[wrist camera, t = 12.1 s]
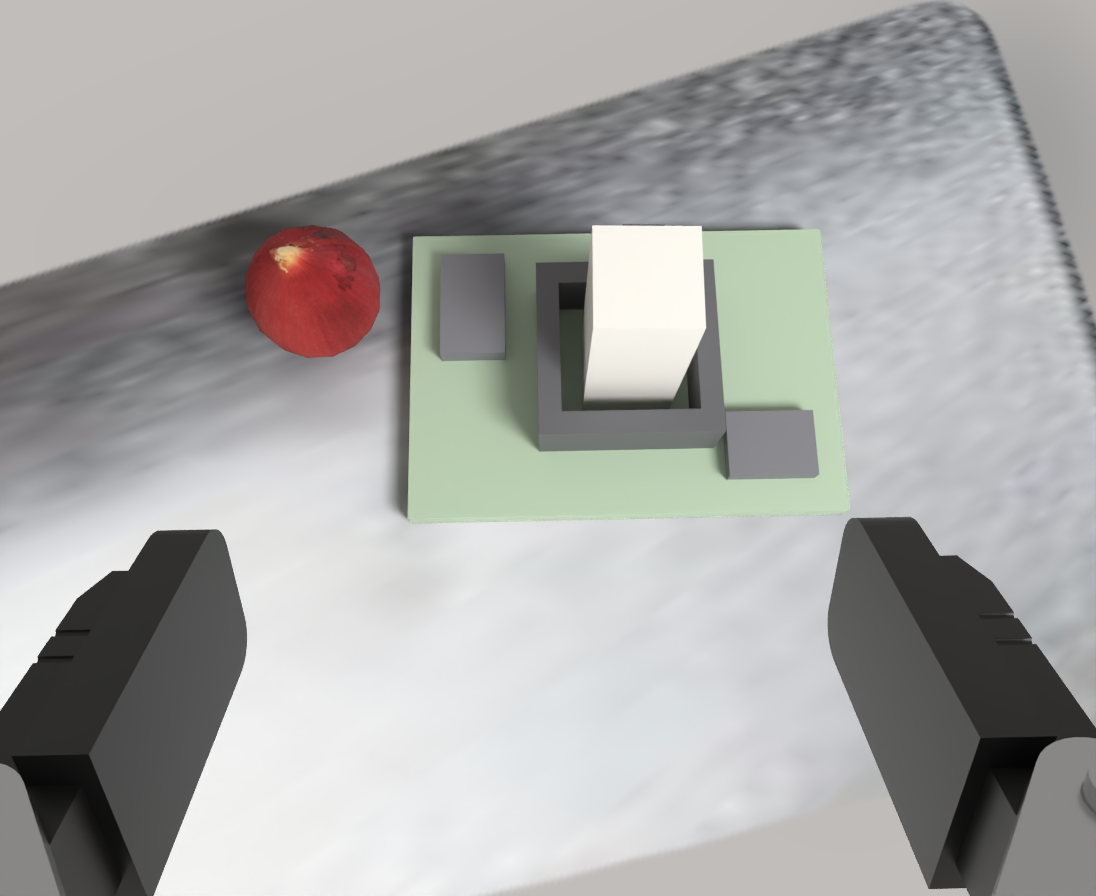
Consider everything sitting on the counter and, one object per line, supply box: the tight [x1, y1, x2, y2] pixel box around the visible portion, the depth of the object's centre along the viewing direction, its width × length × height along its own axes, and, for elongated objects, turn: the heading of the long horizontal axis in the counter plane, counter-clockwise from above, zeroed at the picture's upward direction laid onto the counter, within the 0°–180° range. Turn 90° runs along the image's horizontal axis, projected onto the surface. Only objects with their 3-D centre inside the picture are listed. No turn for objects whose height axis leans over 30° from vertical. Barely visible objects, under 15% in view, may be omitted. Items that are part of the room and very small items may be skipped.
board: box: [408, 229, 850, 523], centre depth 40 cm, size 20×14×4 cm
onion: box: [245, 225, 380, 358], centre depth 39 cm, size 6×6×8 cm
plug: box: [582, 224, 706, 410], centre depth 36 cm, size 4×5×10 cm
